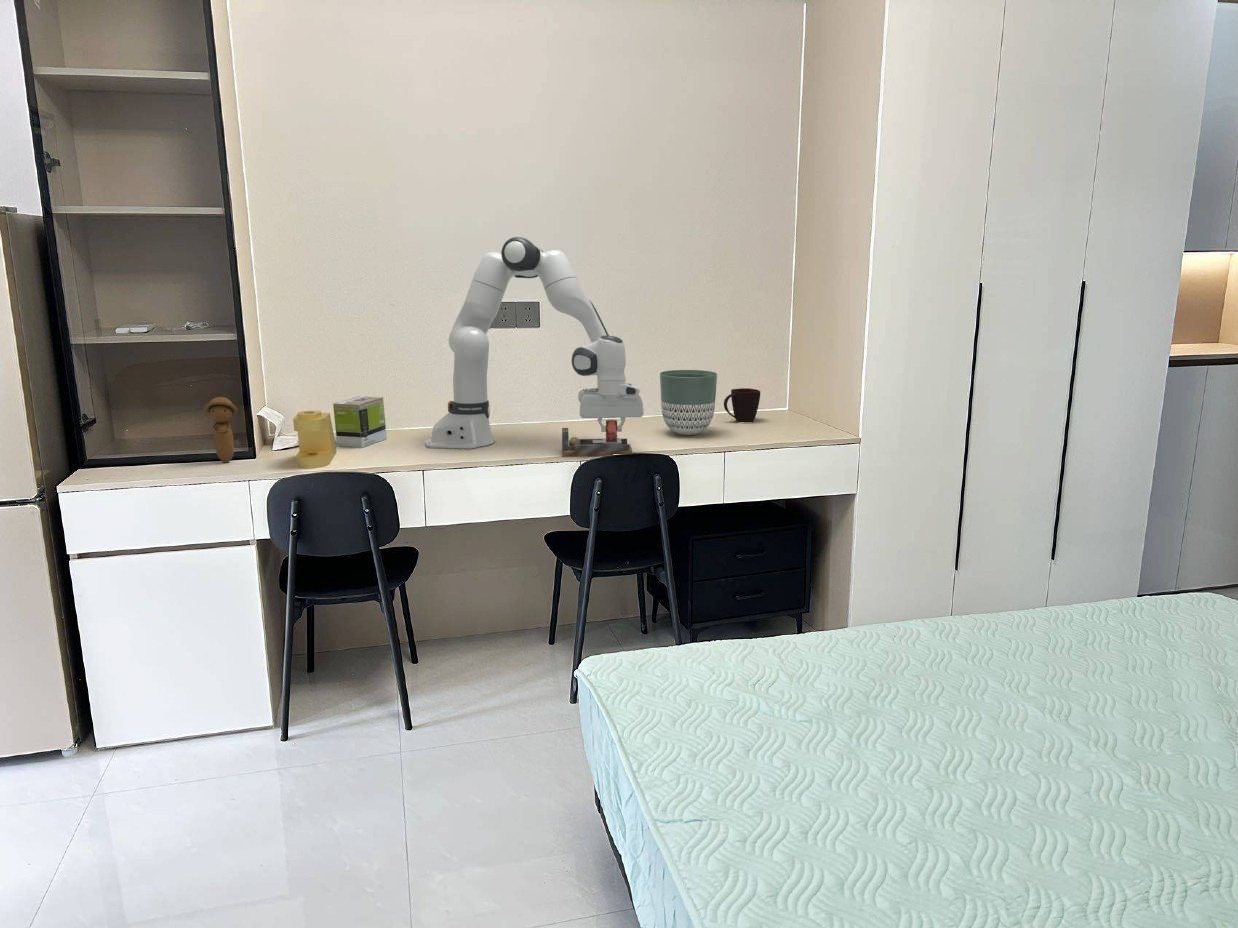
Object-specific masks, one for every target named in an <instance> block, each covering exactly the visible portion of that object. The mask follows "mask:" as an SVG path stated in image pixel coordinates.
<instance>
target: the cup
mask: <svg viewBox="0 0 1238 928" xmlns="http://www.w3.org/2000/svg"><path fill="white" fill-rule="evenodd" d="M730 399H731V405H732V411H733V414H732V413H731V411H730V410H729V407H728V402H729V400H730ZM760 401H761V390H760V389H756V388H755V389H754V388H749V387H748V388H747V387H746V388H744V387H743V388H732V389H731V390H730V394H728V395H727V396H726V397H725V398H724V400H723V408H724V410H725V411H726V412H727V414H728V415H729V416H731V418H734V419H735V422H737V421H738V422H737V423H739V422H752V423H754V422H753V421H755V420H756V416H757V413H758V410H759V406H760V405H759V404H760Z"/></svg>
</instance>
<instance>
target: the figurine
mask: <svg viewBox="0 0 1238 928" xmlns="http://www.w3.org/2000/svg"><path fill="white" fill-rule="evenodd" d="M203 408H204V412H205V413H206V414H208V415H209V416H210V418H211V419H212V420H213V421H214V422H215V423H214V425H213V426H212V429H213V442H214V443H213V444H214V449H215V454H216V455H217V457H218V459H219V460H220V461H221V462H223V463H229V462H230V461H231V460H232V458H233V456H234V453H235V442H234V441H235V440H234V435H233V434H234V433H233V430H232V429H231V424H230V422H229V420H230V419H231V418H232V416H234V415H236V413H237V412H238V408H237V406H236V405H235V404H233V402H232V401H231V400H230V399H229V398H227V397H223V396H218V397H215V398H213V399H211V400H210V401H209V402H207V403H206V404H205V405H204V407H203Z"/></svg>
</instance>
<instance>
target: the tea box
mask: <svg viewBox="0 0 1238 928" xmlns="http://www.w3.org/2000/svg"><path fill="white" fill-rule="evenodd" d="M384 403H385V402H384V397H382V396H381V397H379V396H378V397H377V396H356V397H352V398H348V399H344V400H342V401H337V402H335V403H333V405H332V406H333V407H332V408H333V416H334V417H333V419H334V425H335V426H334V427H335V441H336V447H343V448H345V447H346V448H358V449H362V448H365V447H368V446H371V445H373V444H374V445H375V444H376V443H379V442H381V441H383V440H387V427H386V426H387V425H386V415H385V404H384Z"/></svg>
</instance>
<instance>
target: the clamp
mask: <svg viewBox="0 0 1238 928" xmlns="http://www.w3.org/2000/svg"><path fill="white" fill-rule="evenodd" d="M330 414H331V413H330V412H322V411H321V410H303V411H299V412H297V414H296V415H295V416H294V417H293V418H292V421H293V430H294V431H295V432H297V438H298V440H297V441H298V452H297V454H296V465H297V467H298V468H299V469H319V468H325V467H327V466H329V465H330V464H331V463H332V461H333V460H334V457H335V456H336V454H337V441H336V436H335V433H334V428H333V422H332V419H331V415H330Z"/></svg>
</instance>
